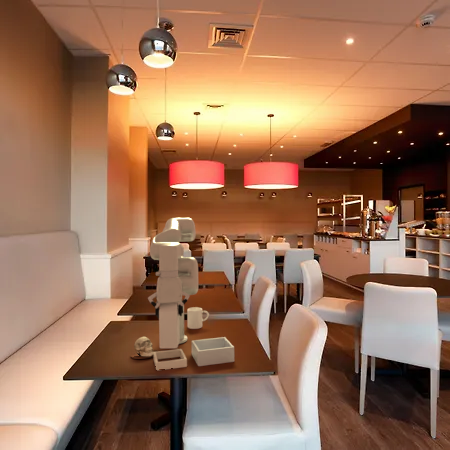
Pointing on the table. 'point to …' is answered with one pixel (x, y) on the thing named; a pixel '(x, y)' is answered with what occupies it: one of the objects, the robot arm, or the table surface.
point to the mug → (195, 317)
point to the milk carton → (169, 325)
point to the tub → (212, 351)
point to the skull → (143, 348)
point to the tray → (171, 363)
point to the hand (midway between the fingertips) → (169, 316)
